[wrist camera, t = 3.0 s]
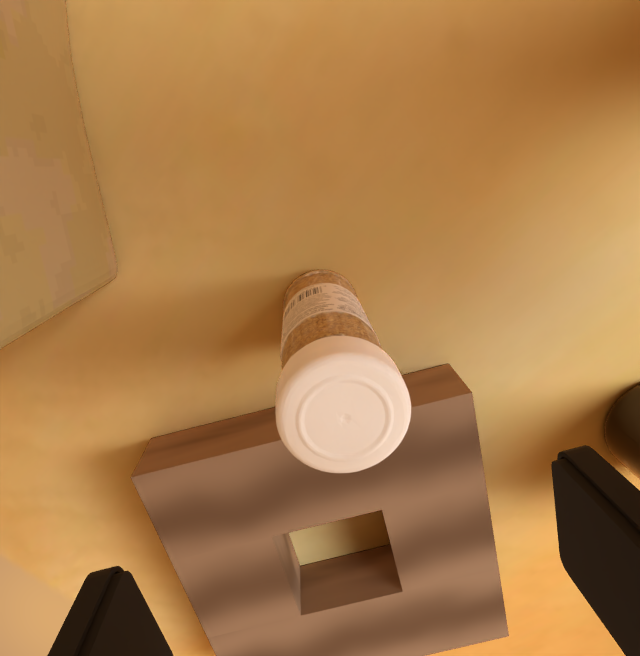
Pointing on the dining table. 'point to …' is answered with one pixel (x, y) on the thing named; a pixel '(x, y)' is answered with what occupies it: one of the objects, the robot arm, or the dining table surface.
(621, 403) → the supplement bottle
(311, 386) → the sprinkles bottle
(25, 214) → the cheese
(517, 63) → the dining table surface
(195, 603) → the walnut holder
